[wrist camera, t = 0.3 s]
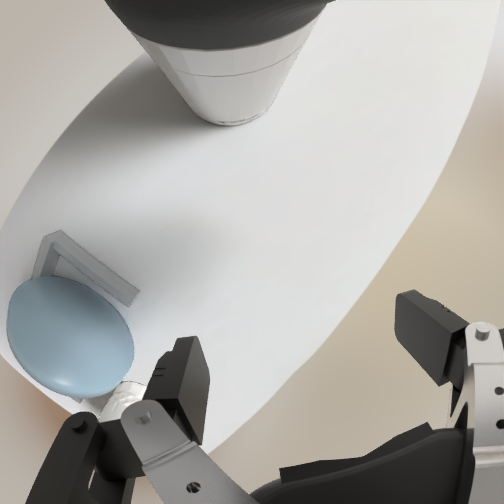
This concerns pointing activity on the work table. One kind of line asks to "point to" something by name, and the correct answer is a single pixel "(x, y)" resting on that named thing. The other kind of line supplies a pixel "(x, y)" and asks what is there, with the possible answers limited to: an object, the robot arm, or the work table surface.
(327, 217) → the work table surface
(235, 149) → the work table surface
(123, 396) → the white cup
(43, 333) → the dish rack
